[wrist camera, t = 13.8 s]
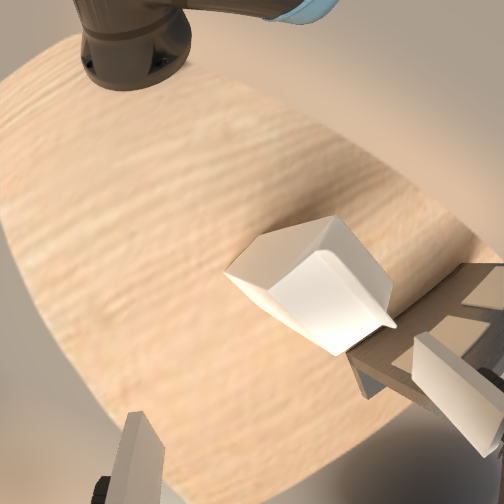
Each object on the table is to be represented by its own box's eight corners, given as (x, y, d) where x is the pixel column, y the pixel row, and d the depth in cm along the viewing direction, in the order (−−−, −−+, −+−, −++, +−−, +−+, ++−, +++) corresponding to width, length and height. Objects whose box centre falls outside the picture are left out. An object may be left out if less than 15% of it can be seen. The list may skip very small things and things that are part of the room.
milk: (260, 307, 36) (362, 377, 14) (222, 271, 35) (283, 301, 13) (294, 269, 36) (428, 287, 15) (259, 233, 36) (366, 205, 14)
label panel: (344, 351, 38) (454, 408, 18) (461, 261, 43) (560, 261, 23) (362, 395, 38) (459, 461, 19) (471, 303, 43) (563, 315, 24)
